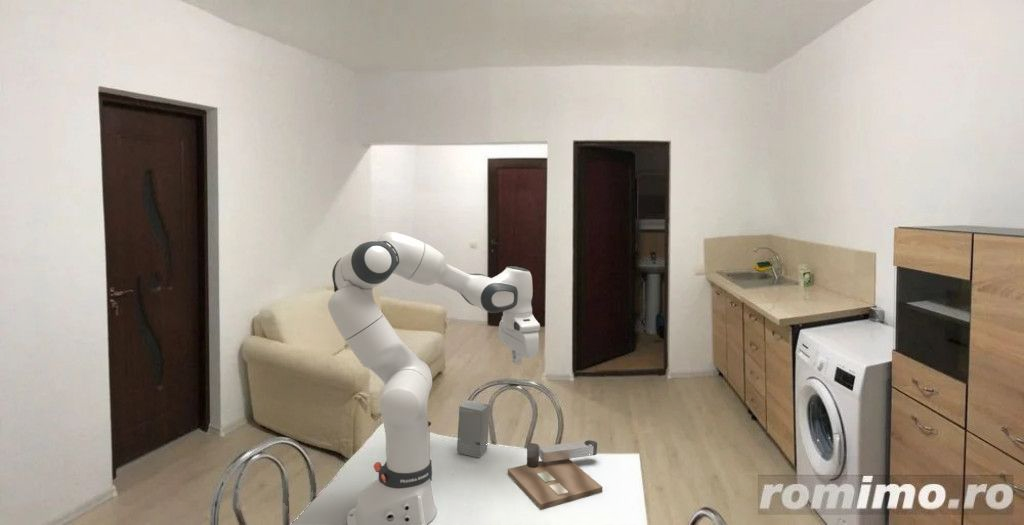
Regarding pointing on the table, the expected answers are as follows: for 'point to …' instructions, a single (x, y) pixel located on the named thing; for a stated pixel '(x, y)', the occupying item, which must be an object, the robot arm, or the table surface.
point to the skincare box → (473, 428)
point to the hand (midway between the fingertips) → (516, 363)
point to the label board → (552, 480)
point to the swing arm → (567, 450)
